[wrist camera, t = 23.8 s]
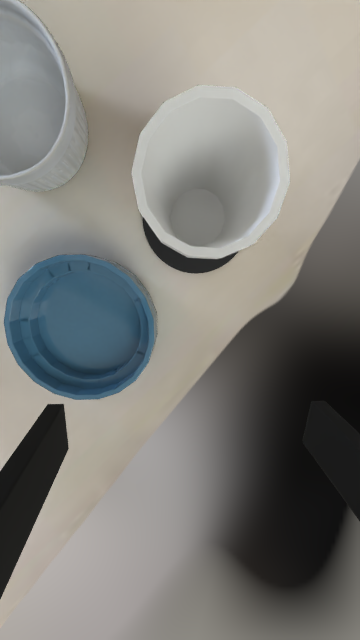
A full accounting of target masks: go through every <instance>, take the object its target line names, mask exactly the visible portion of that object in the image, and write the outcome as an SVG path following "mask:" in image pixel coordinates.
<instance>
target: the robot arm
mask: <svg viewBox="0 0 360 640" xmlns="http://www.w3.org/2000/svg"><path fill="white" fill-rule="evenodd" d="M302 442H303V444H304V445H305V446H306V448H307V449H308V451H309V452H310V453H311V455H312V456H313V457H314V459H315V460H316V462H317V463H318V464H319V466H320V467H321V468H322V470H323V471H324V473H325V474H326V475H327V477H328V478H329V479H330V481H331V482H332V484H333V485H334V486H335V488H336V489H337V490H338V492H339V493H340V495H341V496H342V497H343V499H344V500H345V501H346V503H347V504H348V506H349V507H350V508H351V510H352V511H353V513H354V514H355V515H356V516H357V518H358V519H359V521H360V434H359V433H358V432H357V431H356V430H355V429H354V428H353V427H352V426H351V425H350V424H349V423H348V422H347V421H345V420H344V419H343V418H342V417H341V416H340V415H339V414H338V413H337V412H336V411H335V410H334V409H333V408H332V407H331V406H330V405H328V404H327V403H326V402H325V401H312V402H311V405H310V410H309V414H308V419H307V423H306V428H305V432H304V437H303V441H302ZM68 449H69V448H68V439H67V430H66V421H65V412H64V404H48V405H47V406H46V408H45V409H44V410H43V412H42V413H41V415H40V416H39V417H38V419H37V420H36V422H35V423H34V425H33V426H32V427H31V429H30V430H29V432H28V433H27V434H26V436H25V437H24V439H23V440H22V441H21V443H20V444H19V446H18V447H17V448H16V450H15V451H14V453H13V454H12V456H11V457H10V458H9V460H8V461H7V463H6V464H5V465H4V467H3V468H2V470H1V471H0V599H1V597H2V594H3V592H4V590H5V588H6V586H7V583H8V581H9V579H10V577H11V575H12V572H13V570H14V568H15V566H16V563H17V561H18V559H19V557H20V555H21V552H22V550H23V548H24V546H25V544H26V541H27V539H28V537H29V535H30V533H31V530H32V528H33V526H34V524H35V522H36V519H37V517H38V515H39V513H40V510H41V508H42V506H43V504H44V502H45V499H46V497H47V495H48V493H49V491H50V488H51V486H52V484H53V482H54V480H55V477H56V475H57V473H58V471H59V468H60V466H61V464H62V462H63V460H64V457H65V455H66V453H67V451H68Z"/></svg>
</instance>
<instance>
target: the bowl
mask: <svg viewBox="0 0 360 640" xmlns="http://www.w3.org/2000/svg"><path fill="white" fill-rule="evenodd" d="M4 326H5V332H6V338H7V343H8V346H9V348H10V350H11V352H12V354H13V356H14V358H15V360H16V361H17V363H18V365H19V366H20V367H21V368H22V369H23V370H24V371H25V373H26V374H27V375H28V376H29V377H30V378H31V379H32V380H33V381H34V382H35V383H37V384H39V385H40V386H42V387H44V388H45V389H47V390H49V391H51V392H52V393H54V394H57V395H61V396H64V397H68V398H72V399H75V400H84V399H100V398H104V397H107V396H110V395H113V394H116V393H119V392H120V391H122V390H123V389H124V388H126V387H127V386H129V385H130V384H131V383H133V382H134V381H136V379H137V378H138V377H139V375H140V374H141V372H142V371H143V370H144V368H145V367H146V365H147V364H148V362H149V360H150V357H151V354H152V351H153V347H154V344H155V341H156V337H157V314H156V310H155V307H154V305H153V302H152V299H151V297H150V294H149V292H148V291H147V290H146V288H145V287H144V286H143V285H142V283H141V282H140V281H139V280H138V278H137V277H136V276H135V275H134V274H132V273H131V272H130V271H128V270H127V269H125V268H124V267H122V266H121V265H119V264H118V263H116V262H113V261H110V260H107V259H103V258H100V257H97V256H91V255H83V254H82V255H58V256H55V257H52V258H50V259H47V260H44V261H42V262H39V263H37V264H35V265H34V266H33V267H32V268H30V269H29V270H28V271H27V272H26V273H25V274H23V275H22V276H21V277H20V278H19V279H18V280H17V282H16V284H15V286H14V288H13V290H12V291H11V293H10V295H9V297H8V299H7V304H6V311H5V317H4Z"/></svg>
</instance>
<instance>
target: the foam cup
mask: <svg viewBox="0 0 360 640" xmlns="http://www.w3.org/2000/svg"><path fill="white" fill-rule="evenodd" d="M131 174H132V179H133V185H134V190H135V195H136V200H137V205H138V210H139V212H140V213H141V214H142V216H143V217H144V219H145V220H146V222H147V223H148V224H149V226H150V227H151V229H152V230H153V232H154V233H155V234H156V236H157V237H158V239H159V240H160V241H161V243H163V244H164V245H166V246H168V247H170V248H171V249H173V250H175V251H177V252H178V253H180V254H182V255H184V256H186V257H187V258H203V259H220V258H223V257H225V256H228V255H230V254H232V253H235V252H237V251H239V250H242V249H244V248H246V247H249V246H251V245H253V244H254V243H255V242H256V241H257V240H258V239H259V238H260V237H261V235H262V234H263V233H264V232H265V231H266V230H267V229H268V228H269V227H270V226H271V224H272V223H273V222H274V221H275V220H276V219H277V218H278V215H279V212H280V209H281V206H282V204H283V201H284V198H285V195H286V192H287V189H288V186H289V183H290V173H289V160H288V147H287V141H286V139H285V137H284V136H283V134H282V132H281V130H280V128H279V127H278V125H277V123H276V121H275V119H274V118H273V116H272V114H271V112H270V110H269V109H268V107H266V106H264V105H263V104H261V103H260V102H258V101H257V100H255V99H254V98H252V97H251V96H249V95H248V94H246V93H245V92H243V91H241V90H240V89H238V88H237V87H228V86H210V85H197V86H195V87H193V88H191V89H189V90H187V91H185V92H183V93H181V94H179V95H177V96H175V97H173V98H171V99H169V100H167V101H165V102H163V103H162V105H161V106H160V107H159V109H158V110H157V111H156V113H155V114H154V116H153V117H152V118H151V120H150V121H149V122H148V124H147V125H146V126H145V128H144V129H143V130H142V132H141V133H140V135H139V139H138V144H137V149H136V153H135V158H134V162H133V167H132V172H131Z"/></svg>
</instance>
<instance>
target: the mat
mask: <svg viewBox="0 0 360 640" xmlns="http://www.w3.org/2000/svg"><path fill="white" fill-rule="evenodd" d="M143 226H144V231H145V234H146V237H147V240H148V242H149V244H150V246H151V248H152V249H153V251H154V252H155V253H156V255H157V256H158V257H159V258H160V259H161V260H162V261H163V262H165V263H166V264H168V265H169V266H171V267H173V268H175V269H177V270H180V271H183V272H188V273H204V272H209V271H212V270H215V269H217V268H219V267H221V266H223V265H224V264H226V263H227V262H229V261H230V260H231V259H232V258H233V257H234V256H235V255H236V254H237V253H238V251H237V252H235V253H232V254H230V255H228V256H225V257H223V258H220V259H203V258H187V257H186V256H184V255H182V254H180V253H178V252H177V251H175V250H173V249H171V248H170V247H168V246H166V245H164V244H163V243H161V241H160V240H159V239H158V237H157V236H156V234H155V233H154V232H153V230H152V229H151V227H150V226H149V224H148V223H147V222H146V220H145V219H144V217H143Z"/></svg>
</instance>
